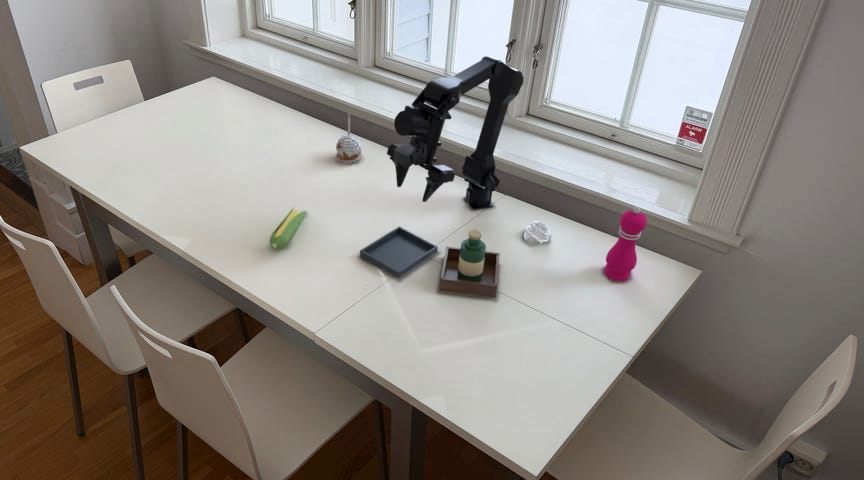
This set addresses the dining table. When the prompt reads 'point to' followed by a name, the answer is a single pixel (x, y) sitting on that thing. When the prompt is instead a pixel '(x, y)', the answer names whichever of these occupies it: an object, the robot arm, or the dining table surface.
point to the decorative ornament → (348, 147)
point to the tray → (398, 251)
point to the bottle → (471, 257)
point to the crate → (481, 288)
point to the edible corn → (286, 229)
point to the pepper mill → (625, 246)
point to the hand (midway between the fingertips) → (411, 194)
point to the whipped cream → (537, 232)
